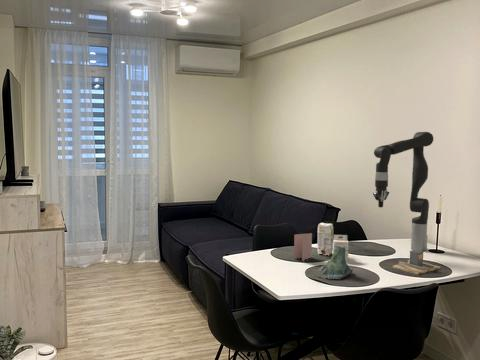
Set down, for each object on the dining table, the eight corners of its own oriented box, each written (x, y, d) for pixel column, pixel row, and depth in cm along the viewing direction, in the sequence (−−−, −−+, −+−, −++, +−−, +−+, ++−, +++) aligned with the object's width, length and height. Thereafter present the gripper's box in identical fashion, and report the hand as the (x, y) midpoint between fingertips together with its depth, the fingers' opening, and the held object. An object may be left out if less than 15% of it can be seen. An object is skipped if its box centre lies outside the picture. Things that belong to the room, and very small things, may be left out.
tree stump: (306, 272, 250) (313, 240, 250) (338, 277, 257) (344, 245, 257) (324, 280, 232) (331, 245, 233) (357, 286, 239) (364, 252, 240)
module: (415, 264, 259) (415, 249, 258) (423, 266, 255) (423, 251, 254) (409, 265, 257) (410, 250, 256) (417, 268, 252) (417, 252, 252)
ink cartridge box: (333, 261, 270) (333, 236, 269) (332, 258, 275) (333, 234, 274) (348, 261, 270) (348, 236, 268) (347, 259, 274) (347, 234, 273)
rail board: (415, 261, 268) (415, 257, 268) (440, 268, 255) (440, 264, 254) (392, 267, 257) (392, 263, 257) (417, 274, 244) (417, 270, 244)
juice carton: (329, 256, 281) (329, 225, 279) (316, 254, 285) (316, 224, 283) (333, 253, 287) (334, 223, 285) (320, 251, 291) (321, 222, 290)
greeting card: (310, 257, 278) (311, 233, 277) (316, 260, 271) (316, 235, 270) (293, 259, 275) (293, 234, 273) (298, 262, 268) (299, 236, 266)
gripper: (379, 180, 277) (378, 209, 279) (393, 179, 284) (392, 207, 286) (369, 179, 283) (368, 207, 285) (383, 178, 290) (382, 205, 292)
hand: (380, 207), depth 285 cm, fingers closed
